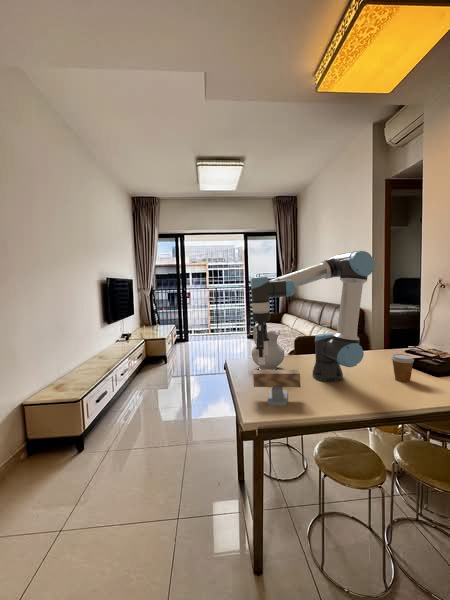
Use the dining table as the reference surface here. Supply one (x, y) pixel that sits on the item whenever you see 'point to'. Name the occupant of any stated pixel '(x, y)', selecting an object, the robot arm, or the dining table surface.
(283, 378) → the walnut bar
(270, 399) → the fulcrum
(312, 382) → the dining table surface
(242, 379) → the dining table surface
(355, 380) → the dining table surface
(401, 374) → the disposable coffee cup
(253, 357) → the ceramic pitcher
